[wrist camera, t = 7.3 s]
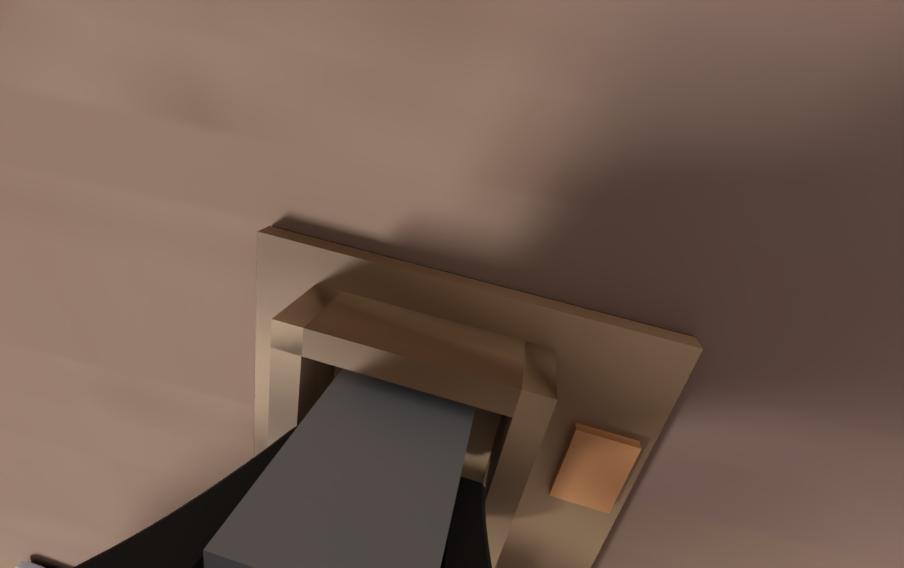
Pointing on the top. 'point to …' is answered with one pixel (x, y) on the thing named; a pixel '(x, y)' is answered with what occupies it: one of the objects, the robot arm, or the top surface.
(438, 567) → the plug
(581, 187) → the top surface
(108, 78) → the top surface
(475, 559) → the robot arm
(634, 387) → the socket board
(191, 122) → the top surface
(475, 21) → the top surface
